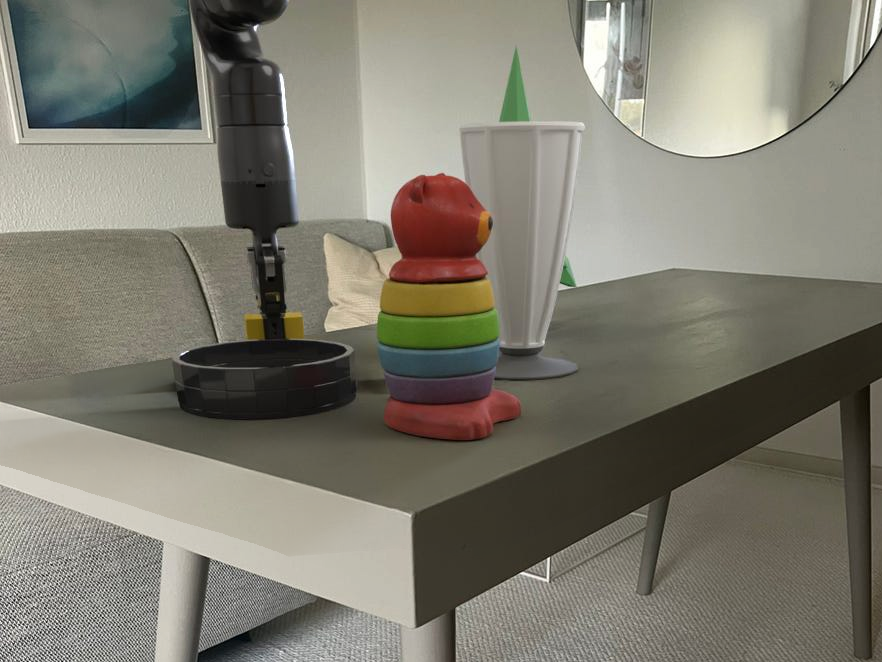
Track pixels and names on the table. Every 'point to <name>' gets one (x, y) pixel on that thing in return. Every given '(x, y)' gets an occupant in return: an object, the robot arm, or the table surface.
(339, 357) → the bowl
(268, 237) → the robot arm
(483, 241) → the stacking bear
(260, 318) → the sponge
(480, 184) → the cup
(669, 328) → the table surface
